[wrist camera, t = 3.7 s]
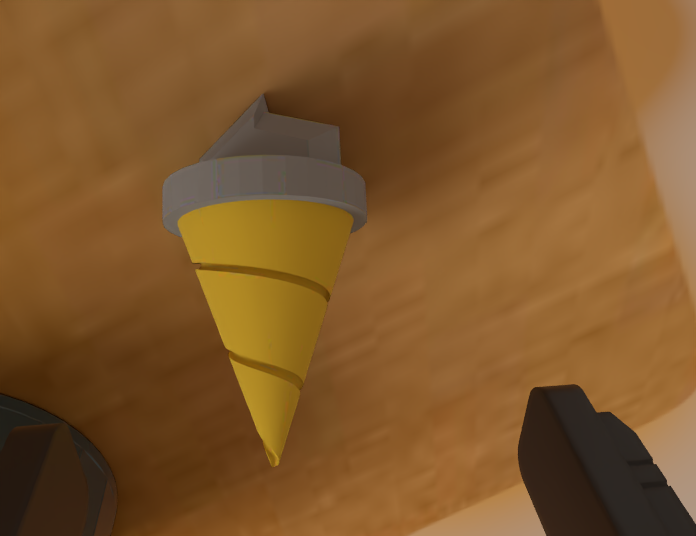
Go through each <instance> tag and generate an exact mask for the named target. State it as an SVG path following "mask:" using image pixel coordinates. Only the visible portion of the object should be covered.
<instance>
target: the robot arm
mask: <svg viewBox="0 0 696 536" xmlns="http://www.w3.org/2000/svg"><path fill="white" fill-rule="evenodd" d="M518 461H519V467H520V472H521V475H522V479H523V481H524V484H525V486H526V488H527V491H528V493H529V495H530V498H531V500H532V502H533V505H534V507H535V510H536V512H537V514H538V517H539V519H540V521H541V524H542V526H543V529H544V531H545V533H546V536H696V524H695V523H694V521H693V519H692V518H691V516H690V515H689V513H688V512H687V510H686V509H685V507H684V506H683V504H682V503H681V501H680V500H679V498H678V497H677V495H676V494H675V492H674V490H673V489H672V487H671V486H668V485H667V480H666V478H665V477H664V475H663V474H662V472H661V471H660V469H659V468H658V466H657V465H656V464H653V459H652V457H651V456H650V454H649V453H648V451H647V449H646V448H645V446H644V445H643V443H642V442H641V440H640V439H639V437H638V436H637V434H636V433H635V432H634V431H633V430H631V429H630V428H629V427H628V426H627V425H625V424H624V423H623V422H622V421H621V420H619V419H618V418H617V417H616V416H615V415H613V414H612V413H611V412H600V413H596V411H595V409H594V408H593V406H592V404H591V403H590V401H589V400H588V398H587V396H586V395H585V393H584V391H583V390H582V389H581V388H580V387H579V386H578V385H575V384H572V385H559V386H547V387H535V388H533V389H532V390H531V392H530V396H529V400H528V404H527V409H526V413H525V417H524V422H523V426H522V431H521V435H520V439H519V444H518ZM88 503H89V493H88V484H87V480H86V477H85V474H84V471H83V468H82V465H81V462H80V459H79V456H78V454H77V451H76V448H75V445H74V442H73V439H72V436H71V433H70V430H69V428H68V426H67V425H66V424H65V423H56V424H43V425H31V426H18V427H15V428H13V429H12V430H11V432H10V433H9V435H8V437H7V439H6V441H5V444H4V446H3V448H2V450H1V453H0V536H82V534H83V530H84V526H85V523H86V518H87V513H88Z"/></svg>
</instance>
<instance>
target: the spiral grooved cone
mask: <svg viewBox="0 0 696 536" xmlns="http://www.w3.org/2000/svg"><path fill="white" fill-rule="evenodd" d="M199 162H200V163H196V164H193V165H190V166H187V167H184V168H182V169H180V170H178V171H176V172H174V173H173V174H171V175H170V176H169V177H168V178H167V179H166V180H165V181H164V184H163V225H164V228H166V229H167V230H168V231H169V232H171V233H173V234H175V235H177V236H179V237H182V238H183V240H184V243H185V245H186V248H187V250H188V253H189V255H190V258H191V261H192V263H194V264H201V267H200V268H199V269H197V270H195V271H196V274H197V276H198V279H199V281H200V284H201V286H202V289H203V292H204V294H205V297H206V299H207V302H208V305H209V307H210V310H211V312H212V315H213V317H214V320H215V323H216V325H217V328H218V330H219V333H220V336H221V338H222V341H223V343H224V346H225V347H226V348H227V349H228V350H230V352H229V353H228V356H229V359H230V361H231V364H232V367H233V369H234V372H235V374H236V377H237V379H238V382H239V385H240V387H241V390H242V392H243V395H244V397H245V400H246V403H247V405H248V408H249V410H250V413H251V416H252V418H253V421H254V423H255V426H256V428H257V431H258V433H259V435H260V437H261V438H262V439H263V446H264V449H265V452H266V454H267V457H268V459H269V462H270V464H271V466H272V467H273V466H277V465H278V464H279V461H280V458H281V455H282V452H283V449H284V446H285V442H286V439H287V436H288V433H289V429H290V426H291V423H292V420H293V416H294V413H295V410H296V407H297V403H298V400H299V397H300V390H301V388H302V387H303V384H304V381H305V377H306V374H307V371H308V368H309V364H310V361H311V358H312V355H313V352H314V348H315V345H316V342H317V339H318V335H319V332H320V329H321V326H322V322H323V319H324V316H325V313H326V309H327V306H328V301H329V299H330V296H331V293H332V290H333V287H334V283H335V280H336V277H337V274H338V270H339V267H340V264H341V261H342V257H343V254H344V251H345V248H346V245H347V241H348V238H349V235H350V233H353V232H355V231H357V230H358V229H360V228H362V227H363V226H364V225H365V223H366V222H367V205H366V188H365V181H364V180H363V178H362V176H360V175H359V174H358V173H357V172H355V171H354V170H352V169H349V168H347V167H345V166H343V165H341V152H340V134H339V126H334V125H329V124H324V123H319V122H314V121H309V120H303V119H298V118H293V117H288V116H283V115H278V114H273V113H269V112H268V108H267V104H266V101H265V97H264V94H262V95H261V96H260V97H259V98H258V99H257V100H256V101H255V102H254V103H253V104H252V105H251V106H250V107H249V108H248V109H247V110H246V111H245V112H244V113H243V114H242V116H241V117H240V118H239V119H238V120H237V121H236V122H235V123H234V124H233V125H232V126H231V127H230V128H229V129H228V130H227V131H226V132H225V133H224V134H223V135H222V136H221V137H220V138H219V139H218V140H217V141H216V142H215V144H214V145H213V146H212V147H211V148H210V149H209V150H208V151H207V152H206V153H205V154H204V155H203V156H202V157H201V158H200V159H199Z"/></svg>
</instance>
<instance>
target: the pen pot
mask: <svg viewBox="0 0 696 536" xmlns="http://www.w3.org/2000/svg"><path fill="white" fill-rule="evenodd" d="M56 423H65V424H66V425H67V426H68V428H69V430H70V433H71V436H72V439H73V442H74V445H75V448H76V451H77V454H78V456H79V459H80V462H81V465H82V468H83V471H84V474H85V477H86V480H87V484H88V493H89V503H88V513H87V518H86V523H85V526H84V530H83V534H82V536H111V534H112V529H113V524H114V520H115V515H116V510H117V499H118V493H117V488H116V483H115V479H114V477H113V474H112V472H111V469H110V467H109V465H108V464H107V462H106V461H105V459H104V457H103V456H102V455H101V453H100V452H99V451H98V450H97V449H96V448H95V446H94V445H93V444H92V443H91V442H90V441H89V440H88V439H86V438H85V437H84V436H83V435H82V434H81V433H80V432H79V431H77V430H76V429H74V428H73V427H71V426H70V425H69V424H67V423H66V422H64V421H63V420H61V419H59V418H57V417H56V416H54V415H52V414H50V413H48V412H46V411H45V410H42V409H40V408H38V407H35V406H33V405H31V404H28V403H26V402H24V401H20V400H17V399H14V398H11V397H8V396H5V395H2V394H0V453H1V450H2V448H3V446H4V444H5V441H6V439H7V437H8V435H9V433H10V432H11V430H12V429H13V428H15V427H18V426H31V425H43V424H56Z"/></svg>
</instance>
